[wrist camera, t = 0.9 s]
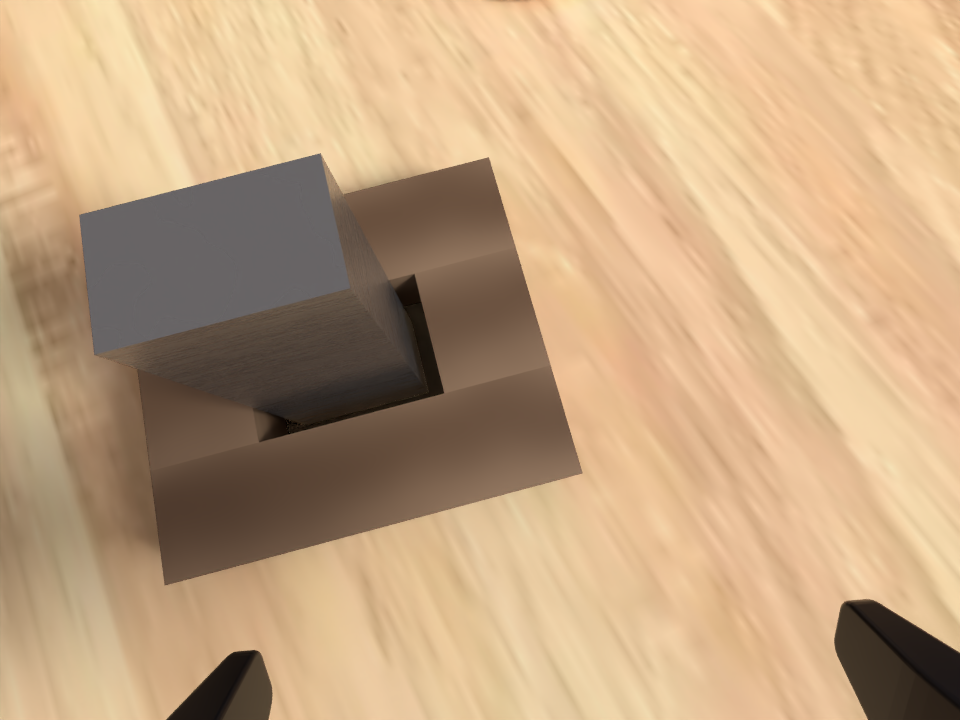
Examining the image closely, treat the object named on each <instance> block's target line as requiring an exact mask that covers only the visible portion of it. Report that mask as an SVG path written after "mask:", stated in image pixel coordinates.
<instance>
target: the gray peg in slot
mask: <svg viewBox="0 0 960 720" xmlns="http://www.w3.org/2000/svg"><path fill="white" fill-rule="evenodd" d="M79 216H80V226H81V235H82V244H83V253H84V263H85V272H86V281H87V290H88V300H89V309H90V318H91V327H92V337H93V346H94V355H97V356H100V357H103V358H106V359H109V360H112V361H115V362H118V363H121V364H124V365H127V366H130V367H133V368H136V369H139V370H142V371H145V372H148V373H151V374H154V375H157V376H160V377H163V378H166V379H169V380H172V381H175V382H178V383H181V384H184V385H187V386H190V387H193V388H196V389H199V390H202V391H205V392H208V393H211V394H214V395H217V396H220V397H223V398H226V399H229V400H232V401H235V402H238V403H241V404H244V405H247V406H250V407H253V408H256V409H259V410H262V411H265V412H268V413H271V414H274V415H277V416H280V417H283V418H286V419H289V420H292V421H295V422H298V423H301V424H304V425H309V424H313V423H316V422H320V421H324V420H328V419H332V418H335V417H339V416H343V415H347V414H350V413H354V412H358V411H362V410H366V409H369V408H373V407H377V406H381V405H385V404H388V403H392V402H396V401H400V400H403V399H407V398H411V397H415V396H419V395H422V394H426V393H429V390H428V386H427V382H426V378H425V374H424V370H423V366H422V362H421V357H420V353H419V349H418V345H417V341H416V337H415V333H414V329H413V325H412V322H411V320H410V318H409V316H408V314H407V312H406V310H405V309H404V307H403V305H402V303H401V301H400V299H399V297H398V296H397V294H396V292H395V290H394V288H393V286H392V285H391V283H390V281H389V279H388V277H387V275H386V273H385V272H384V270H383V268H382V266H381V264H380V262H379V260H378V259H377V257H376V255H375V253H374V251H373V249H372V248H371V246H370V244H369V242H368V240H367V238H366V236H365V235H364V233H363V231H362V229H361V227H360V225H359V223H358V222H357V220H356V218H355V216H354V214H353V212H352V211H351V209H350V207H349V205H348V203H347V201H346V199H345V198H344V196H343V194H342V192H341V190H340V188H339V186H338V185H337V183H336V181H335V179H334V177H333V175H332V174H331V172H330V170H329V168H328V166H327V164H326V162H325V161H324V159H323V157H322V155H321V153H320V154H316V155H312V156H309V157H305V158H301V159H297V160H293V161H289V162H285V163H281V164H277V165H273V166H269V167H265V168H261V169H258V170H254V171H250V172H246V173H242V174H238V175H234V176H230V177H226V178H222V179H218V180H214V181H211V182H207V183H203V184H199V185H195V186H191V187H187V188H183V189H179V190H175V191H171V192H167V193H163V194H160V195H156V196H152V197H148V198H144V199H140V200H136V201H132V202H128V203H124V204H120V205H116V206H112V207H109V208H105V209H101V210H97V211H93V212H89V213H85V214H81V215H79Z"/></svg>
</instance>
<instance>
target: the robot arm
mask: <svg viewBox="0 0 960 720" xmlns="http://www.w3.org/2000/svg"><path fill="white" fill-rule="evenodd" d="M834 644H835V650H836V653H837V656H838V658H839V660H840V662H841V664H842V666H843V669H844V671H845V673H846V675H847V677H848V679H849V681H850V683H851V685H852V687H853V689H854V691H855V694H856V696H857V698H858V700H859V702H860V704H861V706H862V708H863V710H864V712H865V714H866V716H867V718H868V720H960V653H959V652H958V651H956V650H955V649H953V648H951V647H950V646H948V645H946V644H945V643H943V642H942V641H940V640H938V639H937V638H935V637H934V636H932V635H930V634H929V633H927V632H925V631H924V630H922V629H921V628H919V627H917V626H916V625H914V624H912V623H911V622H909V621H908V620H906V619H904V618H903V617H901V616H899V615H898V614H896V613H895V612H893V611H891V610H890V609H888V608H886V607H885V606H883V605H882V604H880V603H878V602H876V601H874V600H870V599H863V600H851V601H846V602H844V603H843V604H842V605H841V608H840V613H839V618H838V623H837V628H836V633H835V638H834ZM271 704H272V685H271V682H270V679H269V676H268V673H267V670H266V667H265V664H264V661H263V658H262V655H261V653H260V652H258V651H256V650H250V651H238V652H233V653H231V654H230V655H229V656H227V657H226V658H225V659H224V660H223V661H222V662H221V663H220V665H219V666H218V667H217V668H216V669H215V670H214V671H213V672H212V673H211V674H210V675H209V676H208V677H207V678H206V679H205V680H204V681H203V682H202V683H201V684H200V685H199V686H198V687H197V688H196V689H195V690H194V691H193V692H192V693H191V695H190V696H189V697H188V698H187V699H186V700H185V701H184V702H183V703H182V704H181V705H180V706H179V707H178V708H177V709H176V710H175V711H174V712H173V713H172V714H171V715H170V716H169V717H168V718H167V719H166V720H269V714H270V709H271Z"/></svg>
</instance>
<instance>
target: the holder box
mask: <svg viewBox="0 0 960 720" xmlns="http://www.w3.org/2000/svg"><path fill="white" fill-rule="evenodd" d="M343 196H344V198H345V199H346V201H347V203H348V205H349V207H350V209H351V211H352V212H353V214H354V216H355V218H356V220H357V222H358V223H359V225H360V227H361V229H362V231H363V233H364V235H365V236H366V238H367V240H368V242H369V244H370V246H371V248H372V249H373V251H374V253H375V255H376V257H377V259H378V260H379V262H380V264H381V266H382V268H383V270H384V272H385V273H386V275H387V277H388V279H389V281H390V283H391V285H392V286H393V288H394V290H395V292H396V294H397V296H398V297H399V299H400V301H401V303H402V305H403V306H406V305H410V304H414V303H418V302H422V306H423V310H424V314H425V318H426V322H427V326H428V330H429V334H430V338H431V342H432V346H433V350H434V354H435V358H436V362H437V366H438V370H439V374H440V378H441V382H442V386H443V390H444V394H440V395H436V396H433V397H429V398H425V399H421V400H417V401H414V402H410V403H406V404H402V405H399V406H395V407H391V408H387V409H383V410H380V411H376V412H372V413H368V414H364V415H361V416H357V417H353V418H349V419H346V420H342V421H338V422H334V423H330V424H327V425H323V426H319V427H315V428H312V429H308V430H304V431H300V432H296V433H293V434H289V435H288V432H287V427H286V421H285V418H283V417H280V416H277V415H274V414H271V413H268V412H265V411H262V410H259V409H256V408H253V407H250V406H247V405H244V404H241V403H238V402H235V401H232V400H229V399H226V398H223V397H220V396H217V395H214V394H211V393H208V392H205V391H202V390H199V389H196V388H193V387H190V386H187V385H184V384H181V383H178V382H175V381H172V380H169V379H166V378H163V377H160V376H157V375H154V374H151V373H148V372H145V371H142V370H139V369H138V377H139V384H140V392H141V400H142V408H143V416H144V424H145V432H146V440H147V448H148V456H149V464H150V472H151V480H152V488H153V496H154V504H155V511H156V519H157V527H158V535H159V543H160V551H161V559H162V567H163V575H164V583H165V585H168V584H172V583H176V582H180V581H183V580H187V579H191V578H194V577H198V576H202V575H206V574H209V573H213V572H217V571H221V570H224V569H228V568H232V567H235V566H239V565H243V564H247V563H250V562H254V561H258V560H262V559H265V558H269V557H273V556H276V555H280V554H284V553H288V552H291V551H295V550H299V549H302V548H306V547H310V546H314V545H317V544H321V543H325V542H329V541H332V540H336V539H340V538H343V537H347V536H351V535H355V534H358V533H362V532H366V531H370V530H373V529H377V528H381V527H384V526H388V525H392V524H396V523H399V522H403V521H407V520H411V519H414V518H418V517H422V516H425V515H429V514H433V513H437V512H440V511H444V510H448V509H451V508H455V507H459V506H463V505H466V504H470V503H474V502H478V501H481V500H485V499H489V498H492V497H496V496H500V495H504V494H507V493H511V492H515V491H519V490H522V489H526V488H530V487H533V486H537V485H541V484H545V483H548V482H552V481H556V480H560V479H563V478H567V477H571V476H574V475H578V474H582V470H581V466H580V463H579V460H578V456H577V453H576V450H575V446H574V443H573V439H572V436H571V433H570V429H569V426H568V423H567V419H566V416H565V412H564V409H563V406H562V402H561V399H560V396H559V392H558V389H557V386H556V382H555V379H554V375H553V372H552V369H551V365H550V362H549V359H548V355H547V352H546V348H545V345H544V342H543V338H542V335H541V332H540V328H539V325H538V322H537V318H536V315H535V311H534V308H533V305H532V301H531V298H530V295H529V291H528V288H527V284H526V281H525V278H524V274H523V271H522V268H521V264H520V261H519V257H518V254H517V251H516V247H515V244H514V241H513V237H512V234H511V231H510V227H509V224H508V220H507V217H506V214H505V210H504V207H503V204H502V200H501V197H500V193H499V190H498V187H497V183H496V180H495V177H494V173H493V170H492V167H491V163H490V160H489V157H488V158H485V159H481V160H477V161H473V162H469V163H465V164H461V165H457V166H453V167H450V168H446V169H442V170H438V171H434V172H430V173H426V174H422V175H418V176H414V177H411V178H407V179H403V180H399V181H395V182H391V183H387V184H383V185H379V186H375V187H372V188H368V189H364V190H360V191H356V192H352V193H348V194H344V195H343Z"/></svg>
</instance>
